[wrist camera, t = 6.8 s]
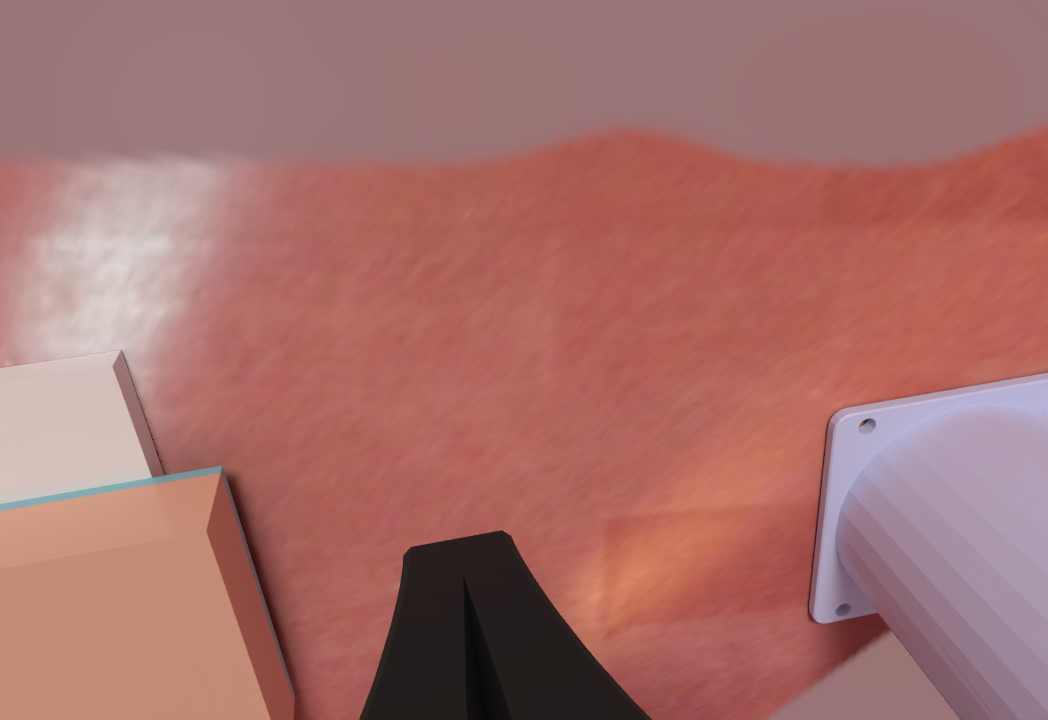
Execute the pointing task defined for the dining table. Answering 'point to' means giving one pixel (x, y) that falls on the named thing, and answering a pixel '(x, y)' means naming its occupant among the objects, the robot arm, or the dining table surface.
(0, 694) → the glazed tile
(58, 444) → the pale grey mat
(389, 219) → the dining table surface
